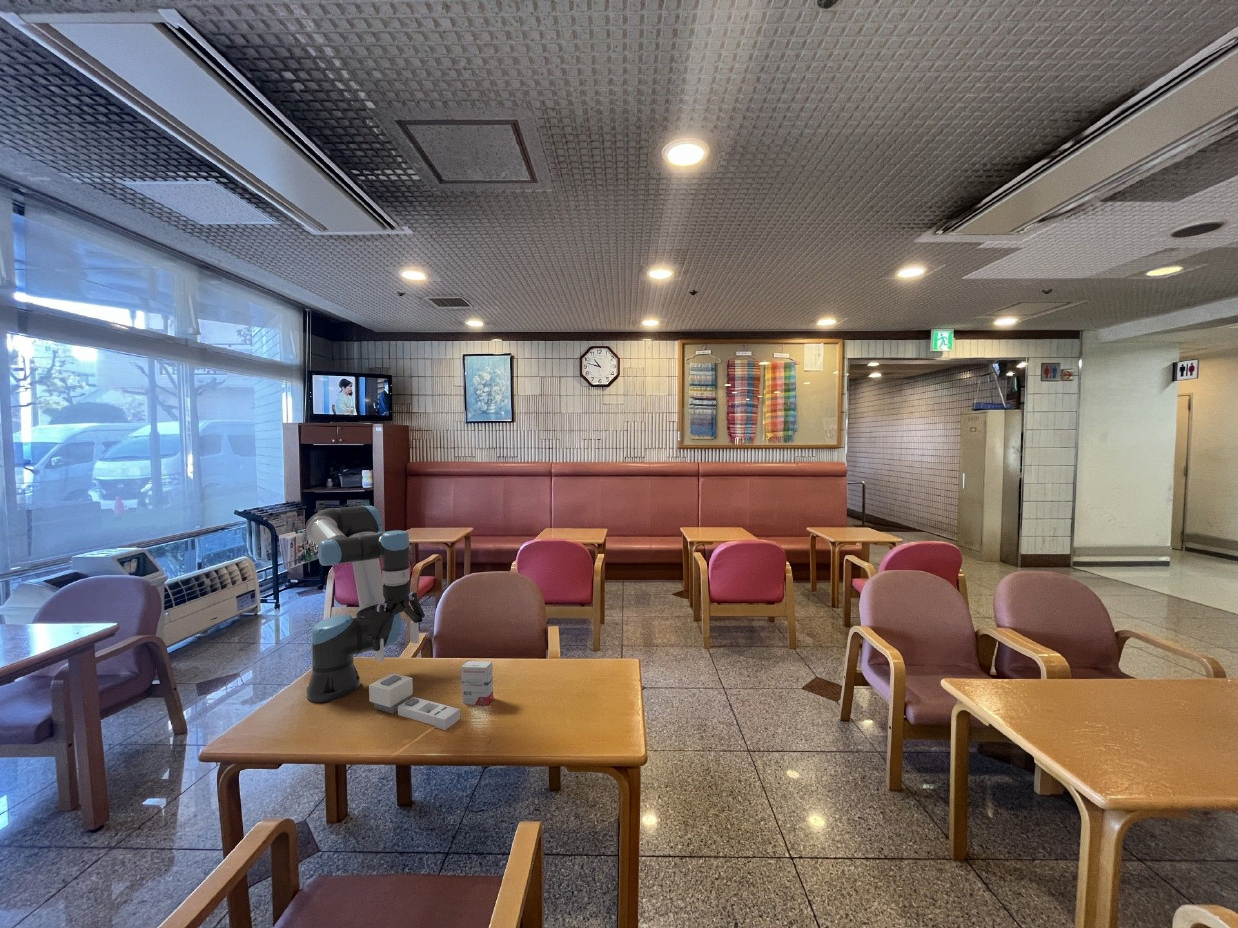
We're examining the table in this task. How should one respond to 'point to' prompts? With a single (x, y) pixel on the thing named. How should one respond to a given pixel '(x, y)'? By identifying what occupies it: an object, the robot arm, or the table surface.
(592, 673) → the table surface
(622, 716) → the table surface
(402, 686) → the plug
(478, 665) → the ink box
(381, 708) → the plug rest
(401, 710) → the socket
